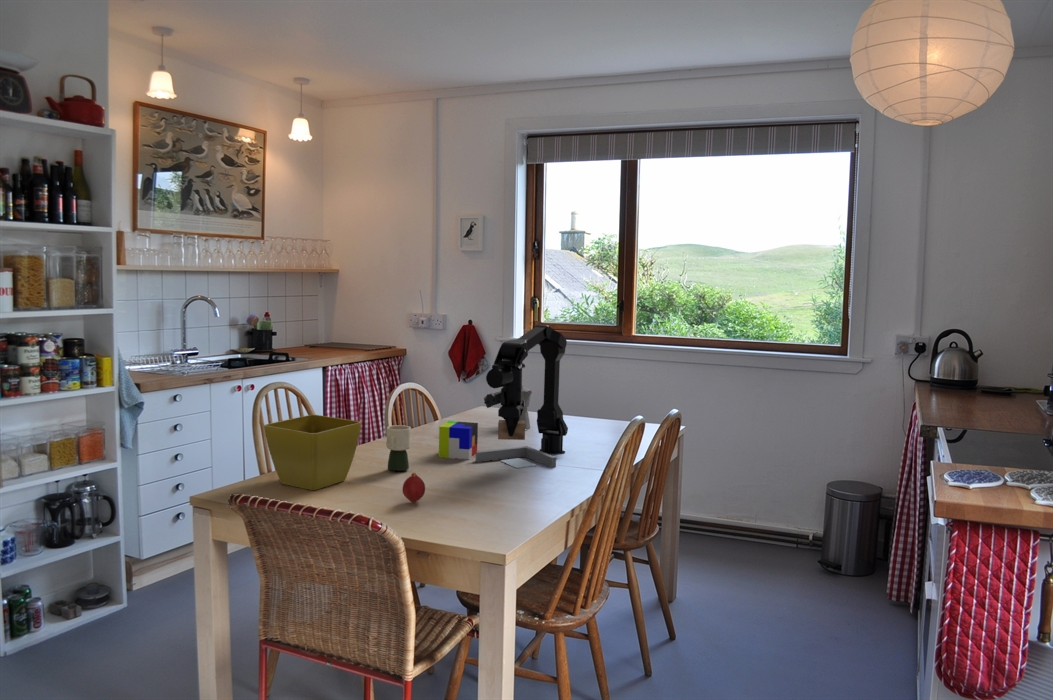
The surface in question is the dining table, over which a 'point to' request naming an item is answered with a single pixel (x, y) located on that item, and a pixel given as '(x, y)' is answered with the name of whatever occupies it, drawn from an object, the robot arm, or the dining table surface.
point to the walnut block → (518, 433)
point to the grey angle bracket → (516, 455)
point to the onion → (413, 488)
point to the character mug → (398, 446)
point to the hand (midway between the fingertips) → (511, 434)
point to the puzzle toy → (458, 439)
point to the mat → (518, 463)
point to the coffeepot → (526, 395)
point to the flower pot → (312, 449)
